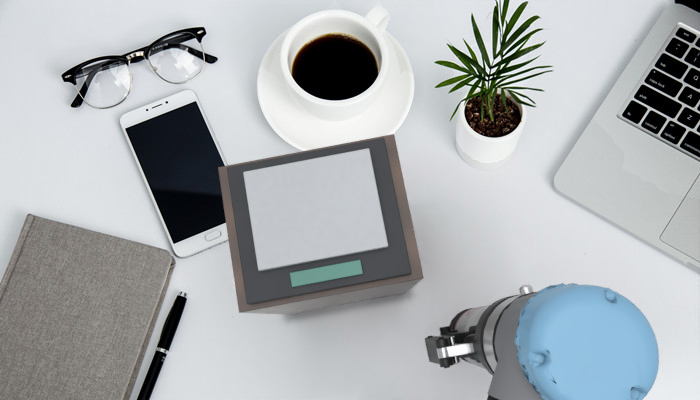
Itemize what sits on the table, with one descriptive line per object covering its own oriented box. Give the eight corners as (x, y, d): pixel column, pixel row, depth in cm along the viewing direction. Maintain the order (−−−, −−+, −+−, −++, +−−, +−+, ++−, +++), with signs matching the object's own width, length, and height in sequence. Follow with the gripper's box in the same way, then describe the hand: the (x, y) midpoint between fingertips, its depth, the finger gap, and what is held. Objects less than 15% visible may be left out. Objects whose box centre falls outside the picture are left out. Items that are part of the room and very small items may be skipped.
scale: (411, 274, 52) (412, 272, 50) (249, 304, 52) (244, 304, 50) (384, 141, 55) (384, 134, 53) (229, 170, 55) (224, 164, 53)
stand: (405, 292, 83) (423, 278, 52) (290, 314, 84) (239, 312, 52) (387, 200, 86) (394, 133, 55) (275, 221, 86) (217, 167, 55)
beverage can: (503, 362, 74) (534, 371, 60) (448, 363, 75) (467, 372, 60) (499, 307, 76) (529, 303, 61) (446, 308, 76) (463, 304, 61)
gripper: (636, 272, 49) (554, 288, 72) (399, 316, 49) (391, 319, 72) (663, 367, 48) (570, 353, 70) (418, 412, 48) (403, 384, 70)
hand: (479, 336), depth 71 cm, fingers closed on beverage can, 6 cm apart
